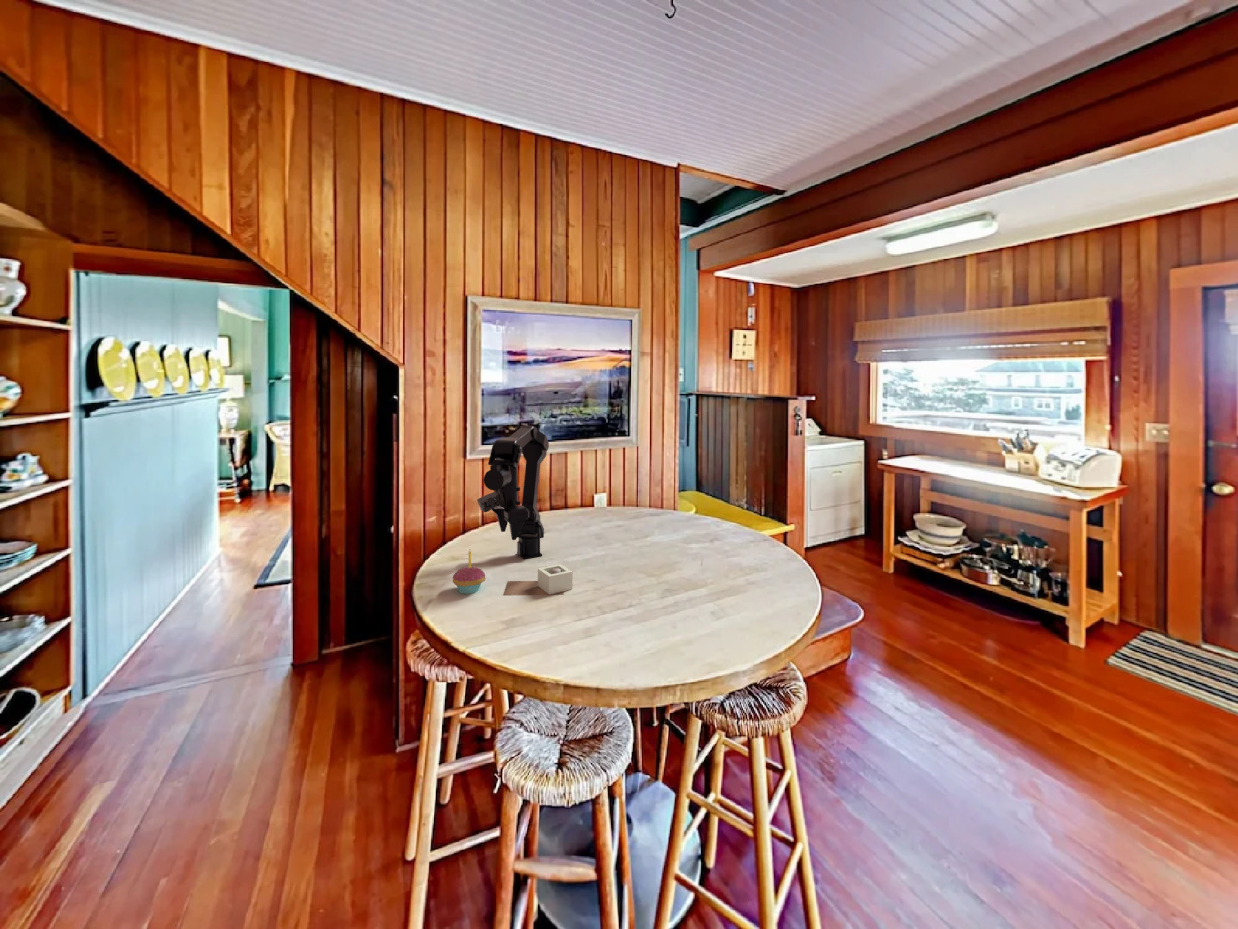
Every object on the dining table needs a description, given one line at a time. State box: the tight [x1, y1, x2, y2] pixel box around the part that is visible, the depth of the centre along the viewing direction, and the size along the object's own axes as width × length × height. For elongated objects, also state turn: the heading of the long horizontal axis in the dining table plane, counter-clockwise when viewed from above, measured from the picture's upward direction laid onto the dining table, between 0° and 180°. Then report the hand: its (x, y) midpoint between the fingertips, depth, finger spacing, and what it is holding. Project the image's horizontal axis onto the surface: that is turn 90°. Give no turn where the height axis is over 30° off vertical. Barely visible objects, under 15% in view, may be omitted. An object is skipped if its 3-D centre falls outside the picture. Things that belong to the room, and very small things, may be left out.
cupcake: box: [452, 550, 486, 594], centre depth 151 cm, size 9×8×12 cm
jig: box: [502, 568, 565, 596], centre depth 153 cm, size 16×10×6 cm, turn 94°
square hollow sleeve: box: [537, 563, 573, 594], centre depth 154 cm, size 7×7×5 cm
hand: (508, 535), depth 164 cm, fingers open, 9 cm apart
